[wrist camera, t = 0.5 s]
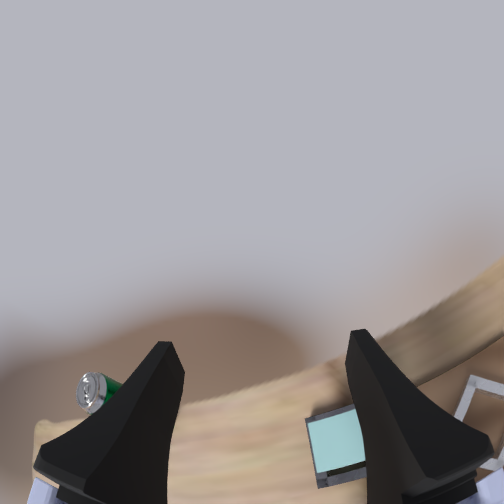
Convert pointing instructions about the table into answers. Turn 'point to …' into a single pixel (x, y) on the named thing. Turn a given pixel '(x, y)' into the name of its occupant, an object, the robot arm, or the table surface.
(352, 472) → the stand socket
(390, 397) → the robot arm
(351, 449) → the teal peg
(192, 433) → the table surface
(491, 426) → the socket board
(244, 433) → the table surface
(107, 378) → the soda can
